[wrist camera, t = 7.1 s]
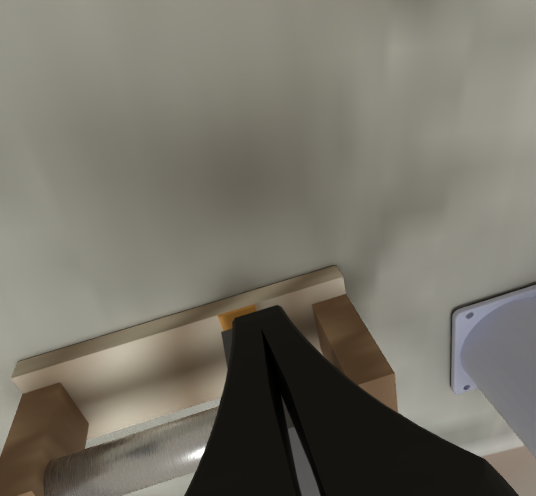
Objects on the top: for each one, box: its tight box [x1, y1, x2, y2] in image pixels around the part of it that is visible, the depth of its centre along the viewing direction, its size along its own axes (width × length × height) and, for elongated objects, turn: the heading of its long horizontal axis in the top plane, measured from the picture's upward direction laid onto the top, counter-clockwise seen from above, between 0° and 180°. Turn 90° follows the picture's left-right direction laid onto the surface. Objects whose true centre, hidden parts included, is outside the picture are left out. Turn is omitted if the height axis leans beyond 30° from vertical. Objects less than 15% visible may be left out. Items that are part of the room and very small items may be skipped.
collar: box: [221, 329, 320, 496], centre depth 21 cm, size 2×6×6 cm, turn 13°
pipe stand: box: [0, 265, 398, 496], centre depth 22 cm, size 18×6×7 cm, turn 103°
